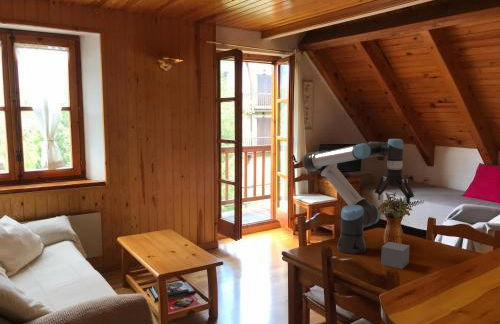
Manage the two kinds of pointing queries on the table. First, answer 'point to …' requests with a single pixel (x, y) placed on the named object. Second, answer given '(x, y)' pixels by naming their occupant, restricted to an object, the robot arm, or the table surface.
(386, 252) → the dark grey block
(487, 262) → the table surface
